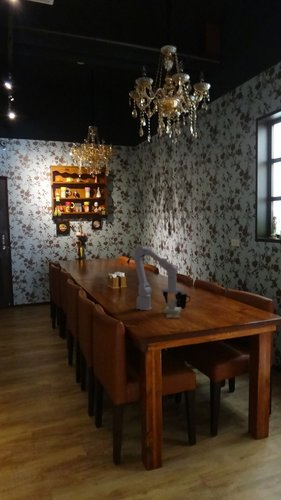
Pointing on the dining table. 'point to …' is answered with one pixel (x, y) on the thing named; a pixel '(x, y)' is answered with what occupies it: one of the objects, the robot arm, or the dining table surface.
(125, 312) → the dining table surface
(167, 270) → the robot arm
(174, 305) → the block
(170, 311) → the grey green square tray
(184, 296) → the coffee mug
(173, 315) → the plate
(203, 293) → the dining table surface
